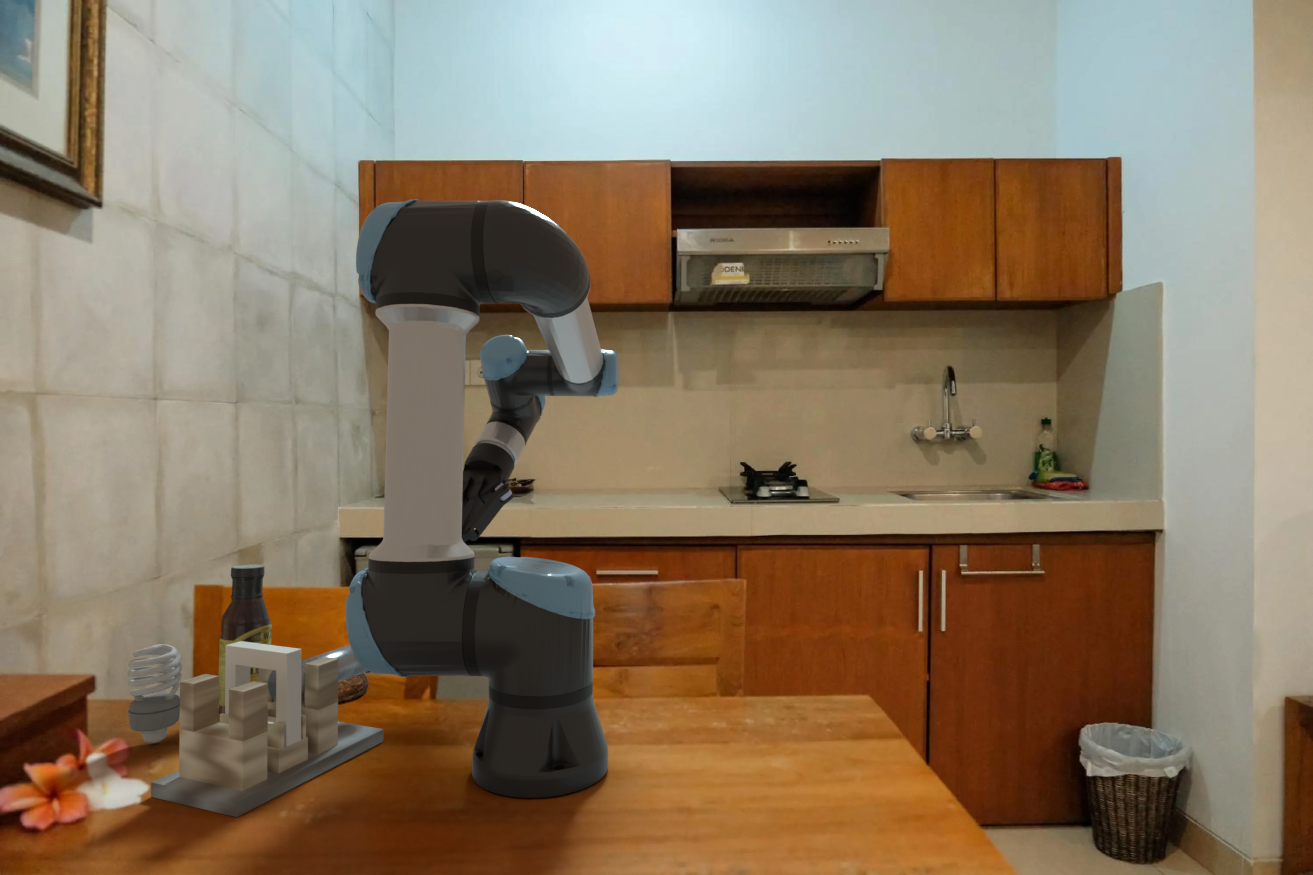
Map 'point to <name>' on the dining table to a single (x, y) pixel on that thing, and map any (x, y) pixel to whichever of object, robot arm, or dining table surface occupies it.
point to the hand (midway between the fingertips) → (431, 574)
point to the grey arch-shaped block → (287, 680)
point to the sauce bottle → (244, 619)
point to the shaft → (345, 656)
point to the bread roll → (352, 687)
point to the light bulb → (158, 708)
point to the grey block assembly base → (257, 742)
